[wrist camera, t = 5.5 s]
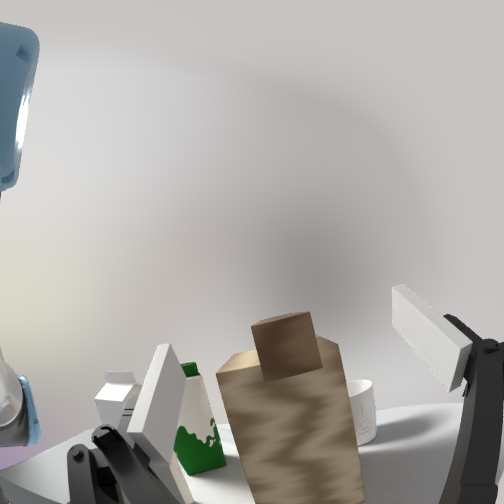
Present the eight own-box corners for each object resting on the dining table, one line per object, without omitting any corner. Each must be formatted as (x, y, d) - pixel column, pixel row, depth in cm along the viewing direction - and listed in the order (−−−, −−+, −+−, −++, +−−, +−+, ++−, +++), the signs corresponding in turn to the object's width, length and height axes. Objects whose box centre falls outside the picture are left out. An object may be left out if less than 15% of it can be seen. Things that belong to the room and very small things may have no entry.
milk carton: (233, 465, 38) (202, 363, 43) (183, 479, 34) (148, 374, 39) (218, 449, 46) (193, 360, 50) (176, 460, 42) (147, 369, 47)
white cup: (374, 447, 33) (366, 394, 35) (329, 450, 37) (318, 400, 39) (384, 424, 39) (376, 376, 41) (343, 428, 43) (335, 383, 45)
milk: (172, 521, 22) (114, 375, 27) (140, 510, 24) (86, 375, 29) (195, 500, 28) (148, 366, 32) (164, 493, 29) (119, 368, 34)
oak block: (263, 524, 21) (215, 373, 25) (266, 471, 34) (234, 354, 39) (364, 500, 20) (337, 344, 25) (340, 454, 34) (315, 334, 39)
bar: (264, 382, 17) (250, 326, 18) (267, 348, 37) (261, 320, 38) (322, 368, 17) (309, 311, 18) (296, 341, 37) (289, 313, 38)
